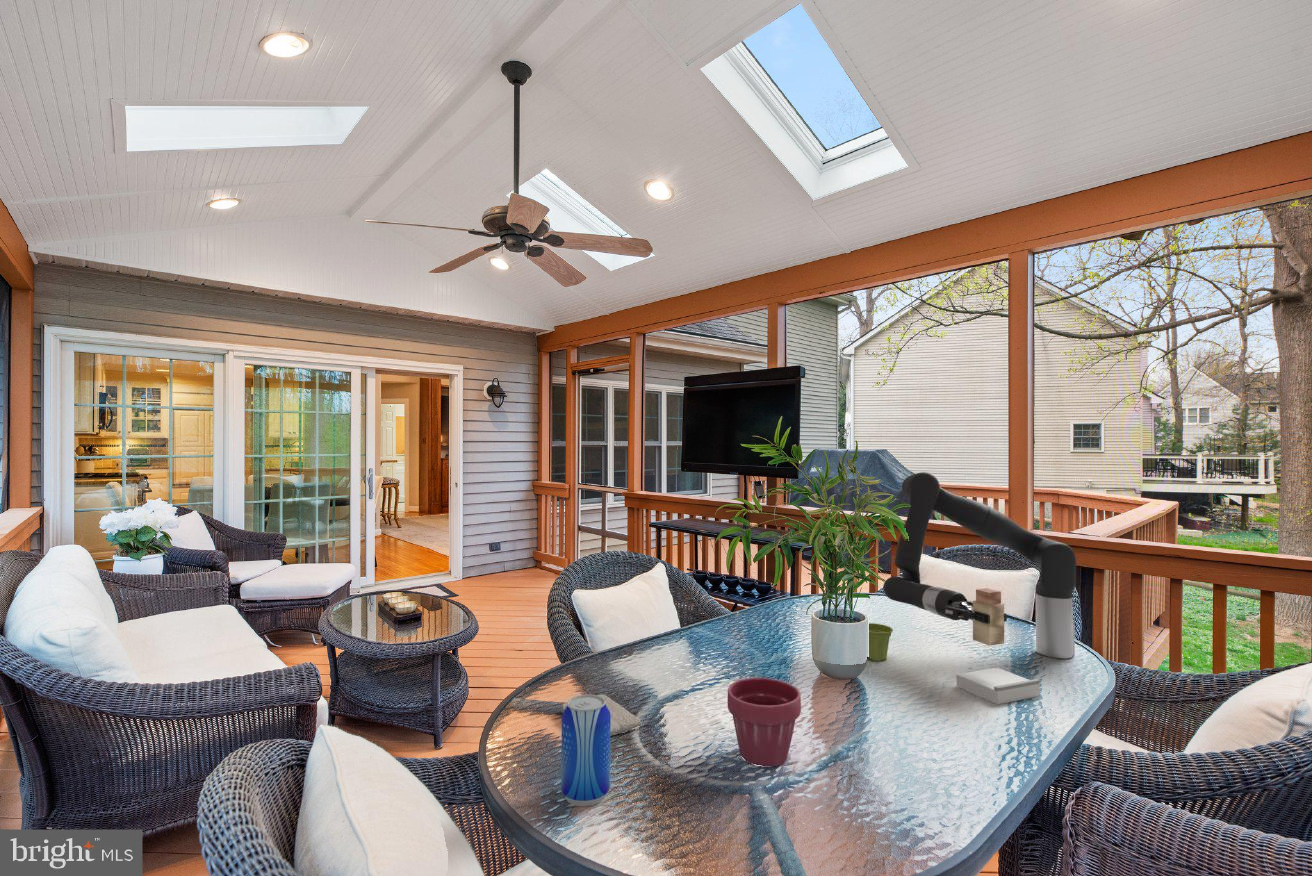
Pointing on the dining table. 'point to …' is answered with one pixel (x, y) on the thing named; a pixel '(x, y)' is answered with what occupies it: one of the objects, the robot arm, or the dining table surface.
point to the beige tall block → (990, 605)
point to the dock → (998, 685)
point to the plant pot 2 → (878, 641)
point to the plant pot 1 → (764, 718)
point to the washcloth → (618, 716)
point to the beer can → (585, 750)
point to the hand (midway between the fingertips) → (997, 618)
